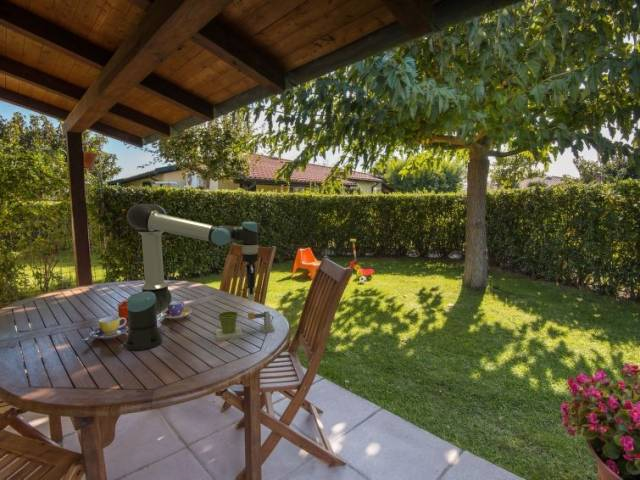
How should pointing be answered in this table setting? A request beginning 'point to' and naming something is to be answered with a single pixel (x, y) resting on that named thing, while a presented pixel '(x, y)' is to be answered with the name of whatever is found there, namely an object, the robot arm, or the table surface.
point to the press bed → (229, 334)
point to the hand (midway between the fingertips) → (251, 299)
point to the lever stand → (267, 324)
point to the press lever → (256, 315)
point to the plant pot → (228, 321)
